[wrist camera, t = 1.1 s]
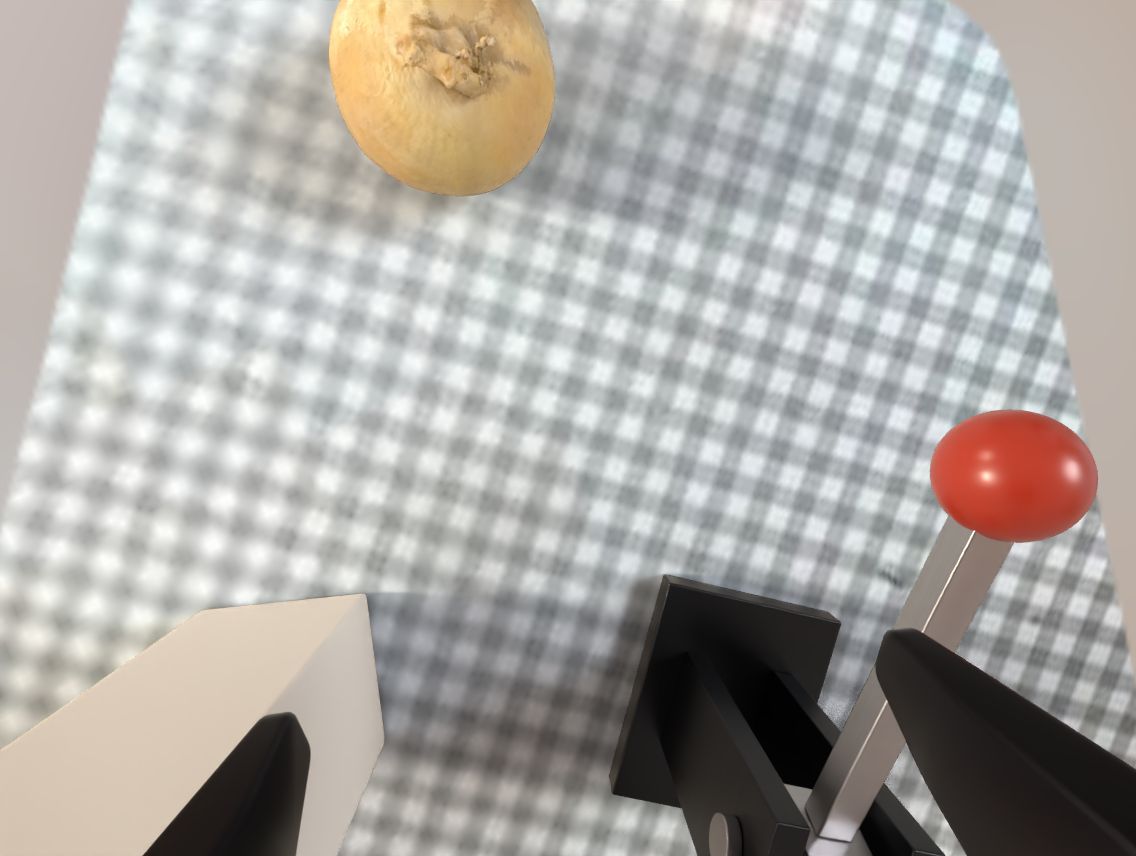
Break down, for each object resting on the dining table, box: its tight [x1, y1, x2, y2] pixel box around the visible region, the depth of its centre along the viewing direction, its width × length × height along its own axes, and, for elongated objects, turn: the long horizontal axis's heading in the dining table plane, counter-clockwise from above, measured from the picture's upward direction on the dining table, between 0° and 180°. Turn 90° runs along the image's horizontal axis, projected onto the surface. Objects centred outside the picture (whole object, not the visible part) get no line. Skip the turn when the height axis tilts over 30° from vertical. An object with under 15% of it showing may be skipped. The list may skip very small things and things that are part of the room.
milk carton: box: [0, 594, 384, 856], centre depth 16 cm, size 7×7×19 cm
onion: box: [329, 0, 555, 196], centre depth 20 cm, size 8×8×7 cm
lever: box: [784, 410, 1098, 856], centre depth 16 cm, size 16×3×3 cm, turn 166°
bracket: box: [609, 574, 945, 856], centre depth 21 cm, size 10×8×11 cm
